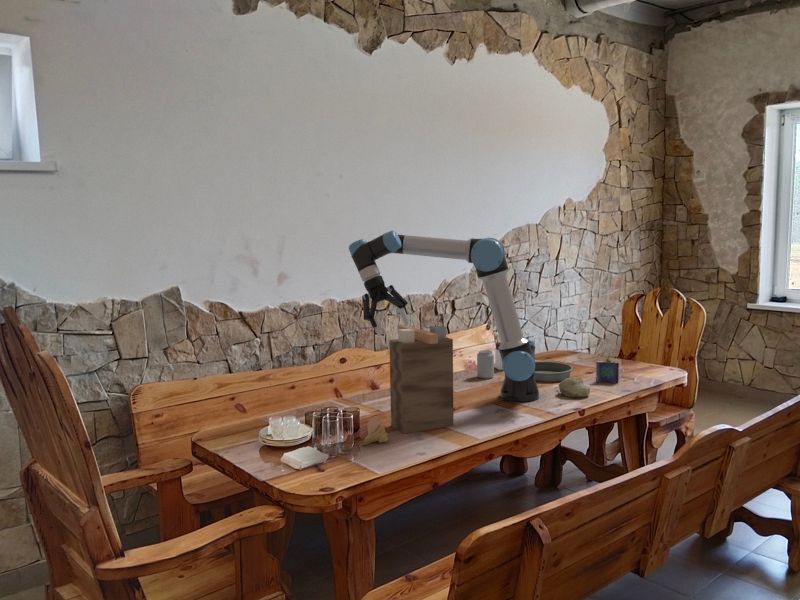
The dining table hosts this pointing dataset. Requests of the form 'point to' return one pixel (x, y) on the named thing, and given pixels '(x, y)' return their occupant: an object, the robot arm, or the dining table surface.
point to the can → (485, 364)
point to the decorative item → (574, 387)
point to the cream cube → (406, 335)
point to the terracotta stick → (422, 334)
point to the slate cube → (439, 331)
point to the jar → (498, 357)
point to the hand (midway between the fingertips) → (394, 329)
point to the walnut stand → (421, 385)
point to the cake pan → (551, 371)
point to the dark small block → (607, 371)
